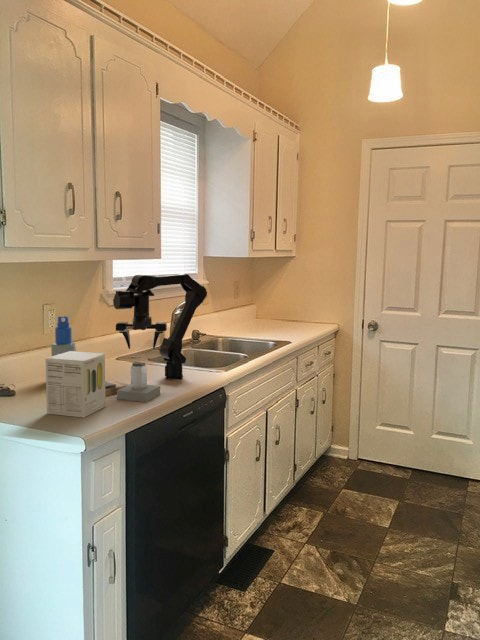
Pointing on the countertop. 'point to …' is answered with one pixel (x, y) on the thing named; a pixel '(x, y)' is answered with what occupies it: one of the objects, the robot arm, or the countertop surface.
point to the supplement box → (75, 383)
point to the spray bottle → (62, 337)
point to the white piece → (138, 376)
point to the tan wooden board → (113, 387)
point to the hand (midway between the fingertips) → (141, 348)
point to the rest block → (138, 393)
